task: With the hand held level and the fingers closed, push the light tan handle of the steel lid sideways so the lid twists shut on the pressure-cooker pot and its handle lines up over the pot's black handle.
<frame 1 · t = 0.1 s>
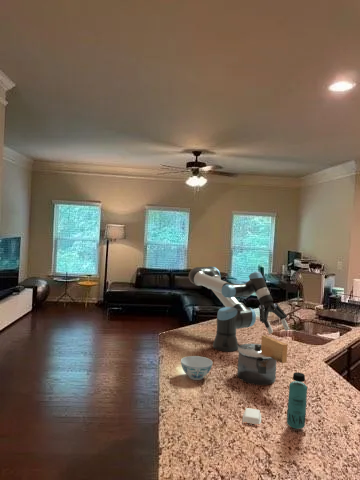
hand: (279, 331, 213), 15 cm above the worktop, tool tilted 35°, fingers open, 13 cm apart
chinaware: (195, 377, 181), on the worktop
beverage bottle: (295, 429, 138), on the worktop
lid: (264, 345, 179), point 17 cm above the worktop, hinge at 30.0°
soap: (251, 420, 143), on the worktop
pot: (256, 377, 184), on the worktop
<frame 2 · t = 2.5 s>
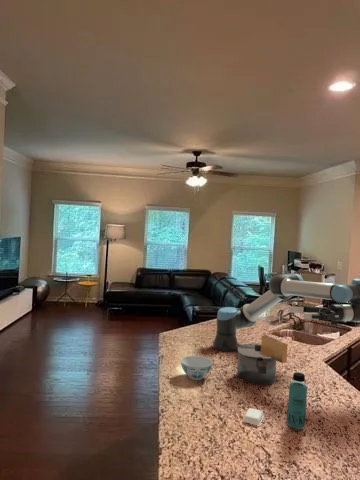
hand: (296, 312, 172), 35 cm above the worktop, tool horizontal, fingers open, 13 cm apart
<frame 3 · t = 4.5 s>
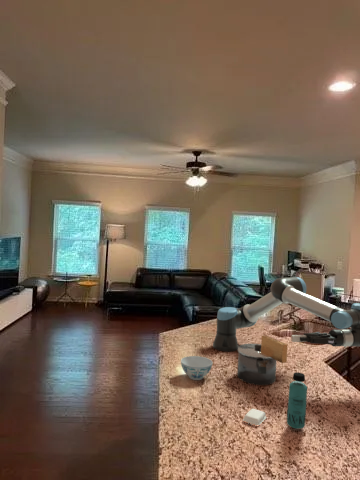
hand: (292, 338, 171), 23 cm above the worktop, tool horizontal, fingers closed
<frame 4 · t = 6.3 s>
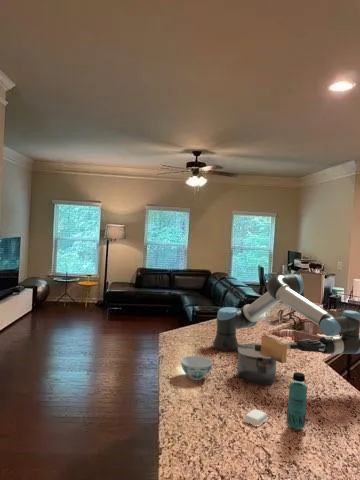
hand: (282, 345, 170), 20 cm above the worktop, tool horizontal, fingers closed
lid: (264, 345, 179), point 17 cm above the worktop, hinge at 29.3°, touching gripper
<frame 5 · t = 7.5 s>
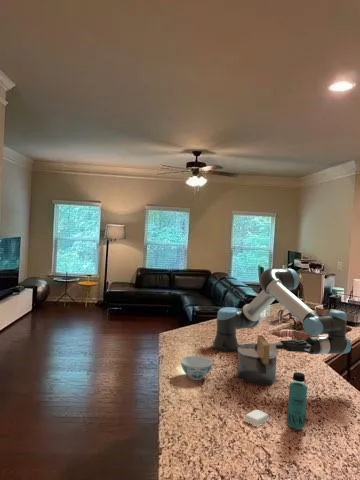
hand: (268, 346, 169), 20 cm above the worktop, tool horizontal, fingers closed
lid: (260, 345, 179), point 17 cm above the worktop, hinge at 3.5°, touching gripper
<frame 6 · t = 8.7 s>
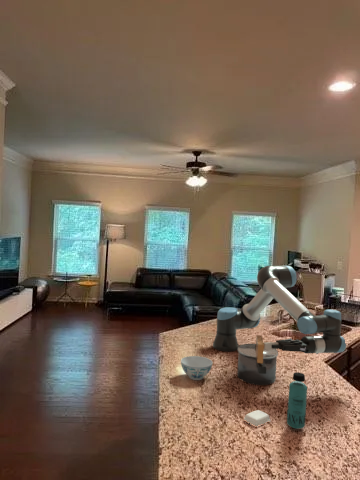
hand: (263, 345, 169), 20 cm above the worktop, tool horizontal, fingers closed
lid: (258, 345, 179), point 17 cm above the worktop, hinge at -3.9°, touching gripper
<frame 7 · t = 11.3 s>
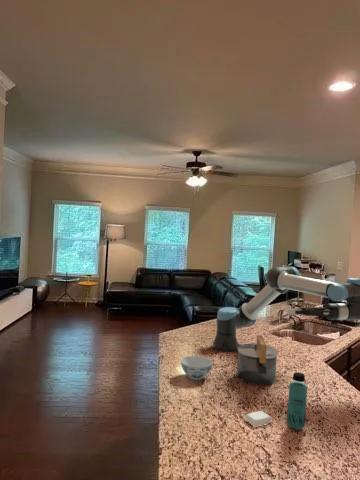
hand: (287, 311, 176), 34 cm above the worktop, tool horizontal, fingers closed
lid: (259, 345, 179), point 17 cm above the worktop, hinge at -0.4°
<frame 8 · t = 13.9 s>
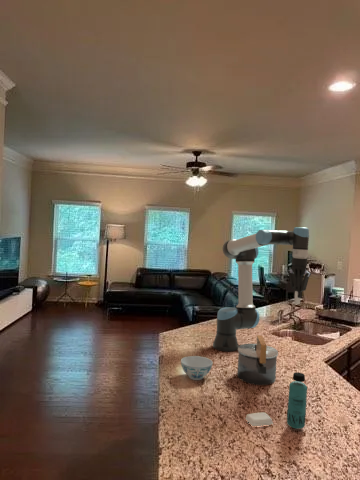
hand: (297, 303, 195), 34 cm above the worktop, tool pointing down, fingers closed
at the end: lid at +0° (first picture: +30°) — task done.
